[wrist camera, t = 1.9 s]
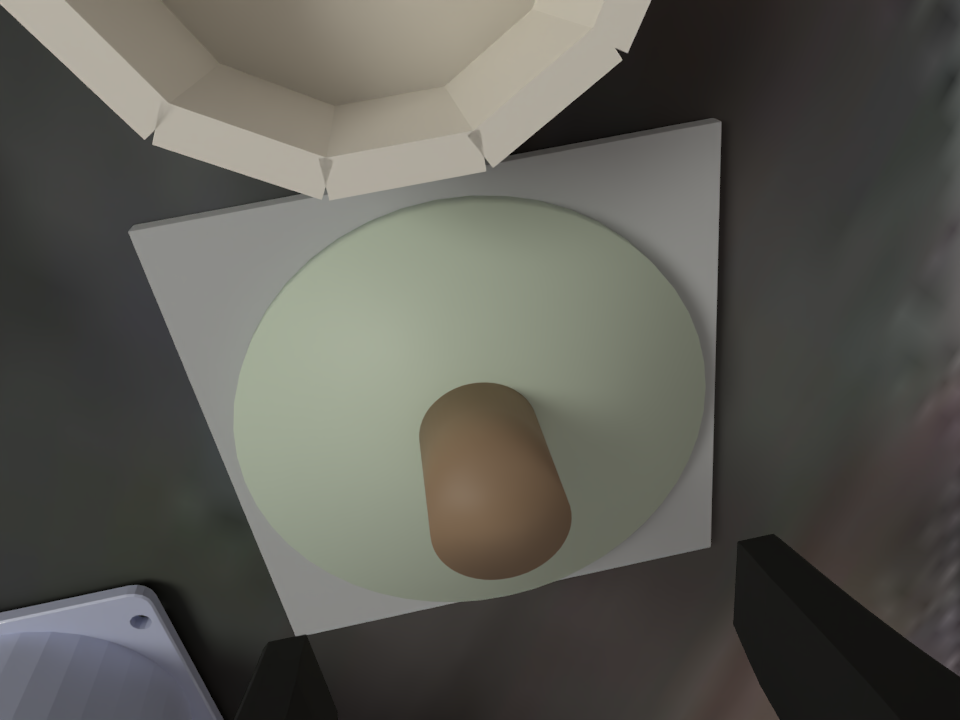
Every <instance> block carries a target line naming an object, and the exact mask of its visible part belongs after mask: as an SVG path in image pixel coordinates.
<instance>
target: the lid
mask: <svg viewBox="0 0 960 720" xmlns="http://www.w3.org/2000/svg"><path fill="white" fill-rule="evenodd" d="M705 390H706V384H705V368H704V359H703V355H702V350H701V346H700V341H699V337H698V334H697V332H696V329H695V327H694V324H693V322H692V319H691V317H690V314H689V312H688V310H687V308H686V307H685V305H684V303H683V302H682V300H681V298H680V297H679V295H678V293H677V292H676V290H675V289H674V287H673V286H672V285H671V284H670V283H669V282H668V280H667V279H666V278H665V277H664V276H663V274H662V273H661V272H660V271H659V270H658V268H657V267H656V266H655V265H654V264H653V263H652V262H651V261H650V260H649V259H648V258H647V257H646V256H645V255H644V254H643V253H642V252H640V251H639V250H638V249H637V248H636V247H635V246H633V245H632V244H631V243H630V242H629V241H628V240H627V239H625V238H624V237H622V236H621V235H619V234H618V233H616V232H614V231H613V230H611V229H610V228H608V227H606V226H605V225H603V224H602V223H600V222H598V221H596V220H594V219H591V218H589V217H587V216H585V215H582V214H580V213H578V212H575V211H573V210H571V209H568V208H564V207H561V206H557V205H553V204H550V203H546V202H543V201H539V200H532V199H525V198H518V197H511V196H474V195H470V196H462V197H454V198H446V199H438V200H433V201H429V202H425V203H421V204H417V205H413V206H409V207H405V208H402V209H399V210H396V211H394V212H391V213H389V214H386V215H384V216H381V217H379V218H376V219H374V220H371V221H369V222H367V223H365V224H363V225H361V226H360V227H358V228H356V229H354V230H352V231H351V232H349V233H347V234H345V235H343V236H342V237H340V238H338V239H337V240H335V241H334V242H333V243H331V244H330V245H329V246H327V247H326V248H325V249H323V250H322V251H321V252H319V253H318V254H317V255H315V256H314V257H313V258H311V259H310V260H309V261H308V262H307V263H306V264H305V265H304V266H303V267H302V268H301V269H300V270H299V271H298V272H297V273H296V274H295V275H294V276H293V277H292V278H291V279H290V280H289V281H288V282H287V283H286V284H285V286H284V287H283V288H282V289H281V291H280V292H279V293H278V295H277V296H276V297H275V299H274V300H273V301H272V303H271V304H270V305H269V307H268V308H267V310H266V312H265V314H264V315H263V317H262V319H261V321H260V323H259V325H258V326H257V328H256V330H255V332H254V334H253V336H252V339H251V342H250V344H249V347H248V350H247V353H246V355H245V358H244V361H243V364H242V368H241V371H240V374H239V379H238V385H237V390H236V395H235V400H234V424H233V431H234V439H235V446H236V453H237V458H238V461H239V465H240V468H241V471H242V474H243V477H244V481H245V483H246V485H247V487H248V489H249V491H250V493H251V495H252V497H253V499H254V501H255V503H256V505H257V507H258V508H259V509H260V511H261V512H262V514H263V515H264V516H265V518H266V519H267V521H268V522H269V524H270V525H271V526H272V527H273V528H274V529H275V530H276V532H277V533H278V534H279V535H280V536H281V537H282V538H283V539H284V540H285V541H286V542H287V543H288V544H289V545H290V546H291V547H292V548H294V549H295V550H296V551H297V552H299V553H300V554H301V555H302V556H304V557H305V558H306V559H307V560H309V561H310V562H312V563H314V564H315V565H317V566H318V567H320V568H322V569H323V570H325V571H326V572H328V573H330V574H332V575H334V576H336V577H338V578H340V579H343V580H345V581H347V582H349V583H351V584H353V585H356V586H359V587H362V588H365V589H368V590H371V591H374V592H377V593H381V594H386V595H390V596H395V597H399V598H404V599H413V600H421V601H430V602H463V601H476V600H485V599H491V598H497V597H503V596H509V595H513V594H516V593H520V592H524V591H528V590H531V589H535V588H538V587H540V586H543V585H546V584H549V583H551V582H554V581H557V580H559V579H561V578H564V577H566V576H568V575H570V574H572V573H574V572H576V571H578V570H580V569H582V568H584V567H586V566H587V565H589V564H591V563H593V562H594V561H596V560H598V559H599V558H601V557H603V556H604V555H606V554H607V553H608V552H610V551H611V550H613V549H614V548H615V547H617V546H618V545H619V544H621V543H622V542H623V541H625V540H626V539H627V538H628V537H629V536H630V535H632V534H633V533H634V532H635V531H636V530H637V529H638V528H639V527H640V526H641V525H643V524H644V523H645V522H646V521H647V519H648V518H649V517H650V516H651V515H652V514H653V513H654V512H655V510H656V509H657V508H658V507H659V506H660V505H661V504H662V502H663V501H664V500H665V498H666V497H667V495H668V494H669V493H670V491H671V490H672V488H673V487H674V485H675V484H676V483H677V481H678V479H679V477H680V475H681V473H682V472H683V470H684V468H685V466H686V464H687V462H688V460H689V458H690V455H691V453H692V450H693V448H694V445H695V442H696V440H697V437H698V433H699V429H700V425H701V421H702V416H703V412H704V401H705Z"/></svg>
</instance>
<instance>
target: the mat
mask: <svg viewBox="0 0 960 720" xmlns="http://www.w3.org/2000/svg"><path fill="white" fill-rule="evenodd" d="M720 161H721V121H719V120H717V119H715V118H709V119H704V120H698V121H693V122H688V123H682V124H677V125H671V126H666V127H661V128H655V129H650V130H644V131H639V132H634V133H628V134H623V135H617V136H612V137H607V138H601V139H596V140H590V141H585V142H580V143H574V144H569V145H563V146H558V147H553V148H547V149H542V150H537V151H531V152H526V153H520V154H515V155H510V156H507V157H506V158H505V159H503V160H502V161H501V162H500V163H499V164H497V165H496V166H495V167H494V168H493V167H492V166H491V165H490V164H489V162H488V161H487V160H485V165H486V171H485V172H480V173H475V174H469V175H464V176H459V177H453V178H448V179H442V180H437V181H432V182H426V183H421V184H416V185H410V186H405V187H400V188H394V189H389V190H383V191H378V192H373V193H367V194H362V195H357V196H351V197H346V198H340V199H335V200H330V201H329V197H328V193H327V189H326V190H325V191H324V194H323V198H322V200H320V199H317V198H314V197H311V196H308V195H305V194H299V195H294V196H288V197H283V198H278V199H272V200H267V201H261V202H256V203H251V204H245V205H240V206H234V207H229V208H224V209H218V210H213V211H208V212H202V213H197V214H191V215H186V216H181V217H175V218H170V219H164V220H159V221H154V222H148V223H143V224H137V225H133V227H132V228H131V229H130V230H129V231H128V233H129V235H130V237H131V240H132V242H133V245H134V247H135V250H136V252H137V254H138V257H139V259H140V262H141V264H142V266H143V269H144V271H145V274H146V276H147V278H148V281H149V283H150V286H151V288H152V291H153V293H154V295H155V298H156V300H157V303H158V305H159V307H160V310H161V312H162V315H163V317H164V320H165V322H166V324H167V327H168V329H169V332H170V334H171V336H172V339H173V341H174V344H175V346H176V348H177V351H178V353H179V356H180V358H181V361H182V363H183V365H184V368H185V370H186V373H187V375H188V377H189V380H190V382H191V385H192V387H193V390H194V392H195V394H196V397H197V399H198V402H199V404H200V406H201V409H202V411H203V414H204V416H205V418H206V421H207V423H208V426H209V428H210V431H211V433H212V435H213V438H214V440H215V443H216V445H217V447H218V450H219V452H220V455H221V457H222V460H223V462H224V464H225V467H226V469H227V472H228V474H229V476H230V479H231V481H232V484H233V486H234V488H235V491H236V493H237V496H238V498H239V501H240V503H241V505H242V508H243V510H244V513H245V515H246V517H247V520H248V522H249V525H250V527H251V530H252V532H253V534H254V537H255V539H256V542H257V544H258V546H259V549H260V551H261V554H262V556H263V558H264V561H265V563H266V566H267V568H268V571H269V573H270V575H271V578H272V580H273V583H274V585H275V587H276V590H277V592H278V595H279V597H280V600H281V602H282V604H283V607H284V609H285V612H286V614H287V616H288V619H289V621H290V624H291V626H292V628H293V631H294V633H295V636H300V635H304V634H306V635H310V634H314V633H319V632H323V631H328V630H332V629H337V628H342V627H346V626H351V625H355V624H360V623H365V622H369V621H374V620H378V619H383V618H387V617H392V616H397V615H401V614H406V613H410V612H415V611H420V610H424V609H429V608H433V607H438V606H442V605H447V604H452V603H456V602H430V601H421V600H413V599H404V598H399V597H395V596H390V595H386V594H381V593H377V592H374V591H371V590H368V589H365V588H362V587H359V586H356V585H353V584H351V583H349V582H347V581H345V580H343V579H340V578H338V577H336V576H334V575H332V574H330V573H328V572H326V571H325V570H323V569H322V568H320V567H318V566H317V565H315V564H314V563H312V562H310V561H309V560H307V559H306V558H305V557H304V556H302V555H301V554H300V553H299V552H297V551H296V550H295V549H294V548H292V547H291V546H290V545H289V544H288V543H287V542H286V541H285V540H284V539H283V538H282V537H281V536H280V535H279V534H278V533H277V532H276V530H275V529H274V528H273V527H272V526H271V525H270V524H269V522H268V521H267V519H266V518H265V516H264V515H263V514H262V512H261V511H260V509H259V508H258V507H257V505H256V503H255V501H254V499H253V497H252V495H251V493H250V491H249V489H248V487H247V485H246V483H245V481H244V477H243V474H242V471H241V468H240V465H239V461H238V458H237V453H236V446H235V439H234V431H233V424H234V400H235V395H236V390H237V385H238V379H239V374H240V371H241V368H242V364H243V361H244V358H245V355H246V353H247V350H248V347H249V344H250V342H251V339H252V336H253V334H254V332H255V330H256V328H257V326H258V325H259V323H260V321H261V319H262V317H263V315H264V314H265V312H266V310H267V308H268V307H269V305H270V304H271V303H272V301H273V300H274V299H275V297H276V296H277V295H278V293H279V292H280V291H281V289H282V288H283V287H284V286H285V284H286V283H287V282H288V281H289V280H290V279H291V278H292V277H293V276H294V275H295V274H296V273H297V272H298V271H299V270H300V269H301V268H302V267H303V266H304V265H305V264H306V263H307V262H308V261H309V260H310V259H311V258H313V257H314V256H315V255H317V254H318V253H319V252H321V251H322V250H323V249H325V248H326V247H327V246H329V245H330V244H331V243H333V242H334V241H335V240H337V239H338V238H340V237H342V236H343V235H345V234H347V233H349V232H351V231H352V230H354V229H356V228H358V227H360V226H361V225H363V224H365V223H367V222H369V221H371V220H374V219H376V218H379V217H381V216H384V215H386V214H389V213H391V212H394V211H396V210H399V209H402V208H405V207H409V206H413V205H417V204H421V203H425V202H429V201H433V200H438V199H446V198H454V197H462V196H470V195H474V196H511V197H518V198H525V199H532V200H539V201H543V202H546V203H550V204H553V205H557V206H561V207H564V208H568V209H571V210H573V211H575V212H578V213H580V214H582V215H585V216H587V217H589V218H591V219H594V220H596V221H598V222H600V223H602V224H603V225H605V226H606V227H608V228H610V229H611V230H613V231H614V232H616V233H618V234H619V235H621V236H622V237H624V238H625V239H627V240H628V241H629V242H630V243H631V244H632V245H633V246H635V247H636V248H637V249H638V250H639V251H640V252H642V253H643V254H644V255H645V256H646V257H647V258H648V259H649V260H650V261H651V262H652V263H653V264H654V265H655V266H656V267H657V268H658V270H659V271H660V272H661V273H662V274H663V276H664V277H665V278H666V279H667V280H668V282H669V283H670V284H671V285H672V286H673V287H674V289H675V290H676V292H677V293H678V295H679V297H680V298H681V300H682V302H683V303H684V305H685V307H686V308H687V310H688V312H689V314H690V317H691V319H692V322H693V324H694V327H695V329H696V332H697V334H698V337H699V341H700V346H701V350H702V355H703V359H704V368H705V384H706V390H705V401H704V412H703V416H702V421H701V425H700V429H699V433H698V437H697V440H696V442H695V445H694V448H693V450H692V453H691V455H690V458H689V460H688V462H687V464H686V466H685V468H684V470H683V472H682V473H681V475H680V477H679V479H678V481H677V483H676V484H675V485H674V487H673V488H672V490H671V491H670V493H669V494H668V495H667V497H666V498H665V500H664V501H663V502H662V504H661V505H660V506H659V507H658V508H657V509H656V510H655V512H654V513H653V514H652V515H651V516H650V517H649V518H648V519H647V521H646V522H645V523H644V524H643V525H641V526H640V527H639V528H638V529H637V530H636V531H635V532H634V533H633V534H632V535H630V536H629V537H628V538H627V539H626V540H625V541H623V542H622V543H621V544H619V545H618V546H617V547H615V548H614V549H613V550H611V551H610V552H608V553H607V554H606V555H604V556H603V557H601V558H599V559H598V560H596V561H594V562H593V563H591V564H589V565H587V566H586V567H584V568H582V569H580V570H578V571H576V572H574V573H572V574H570V575H568V576H566V577H564V578H561V579H559V580H562V579H566V578H571V577H575V576H580V575H585V574H589V573H594V572H598V571H603V570H608V569H612V568H617V567H621V566H626V565H630V564H635V563H640V562H644V561H649V560H653V559H658V558H663V557H667V556H672V555H676V554H681V553H685V552H690V551H695V550H699V549H704V548H708V547H711V515H712V476H713V437H714V397H715V358H716V318H717V279H718V240H719V200H720Z"/></svg>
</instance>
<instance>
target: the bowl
mask: <svg viewBox="0 0 960 720" xmlns="http://www.w3.org/2000/svg"><path fill="white" fill-rule="evenodd" d="M650 2H651V0H0V4H1V5H2V6H3V7H4V8H5V9H6V10H7V11H8V12H9V13H10V14H11V15H12V16H13V17H15V18H16V19H17V20H18V21H19V22H20V23H21V24H22V25H23V26H24V27H25V28H26V29H27V30H28V31H29V32H30V33H32V34H33V35H34V36H35V37H36V38H37V39H38V40H39V41H40V42H41V43H42V44H43V45H44V46H45V47H46V48H47V49H48V50H50V51H51V52H52V53H53V54H54V55H55V56H56V57H57V58H58V59H59V60H60V61H61V62H62V63H63V64H64V65H65V66H67V67H68V68H69V69H70V70H71V71H72V72H73V73H74V74H75V75H76V76H77V77H78V78H79V79H80V80H81V81H82V82H84V83H85V84H86V85H87V86H88V87H89V88H90V89H91V90H92V91H93V92H94V93H95V94H96V95H97V96H98V97H99V98H101V99H102V100H103V101H104V102H105V103H106V104H107V105H108V106H109V107H110V108H111V109H112V110H113V111H114V112H115V113H116V114H118V115H119V116H120V117H121V118H122V119H123V120H124V121H125V122H126V123H127V124H128V125H129V126H130V127H131V128H132V129H133V130H135V131H136V132H137V133H138V134H139V135H140V136H141V137H142V138H143V139H144V140H145V139H146V138H147V137H148V136H150V135H151V134H152V133H153V132H154V131H155V133H154V138H153V143H152V145H155V146H158V147H161V148H164V149H167V150H170V151H174V152H177V153H180V154H183V155H186V156H189V157H192V158H195V159H198V160H201V161H204V162H207V163H210V164H213V165H216V166H219V167H222V168H225V169H229V170H232V171H235V172H238V173H241V174H244V175H247V176H250V177H253V178H256V179H259V180H262V181H265V182H268V183H271V184H274V185H277V186H281V187H284V188H287V189H290V190H293V191H296V192H299V193H302V194H305V195H308V196H311V197H314V198H317V199H320V200H322V198H323V194H324V191H325V187H326V189H327V193H328V197H329V201H330V200H335V199H340V198H346V197H351V196H357V195H362V194H367V193H373V192H378V191H383V190H389V189H394V188H400V187H405V186H410V185H416V184H421V183H426V182H432V181H437V180H442V179H448V178H453V177H459V176H464V175H469V174H475V173H480V172H485V171H486V165H485V159H486V160H487V161H488V162H489V164H490V165H491V166H492V167H493V168H494V167H495V166H496V165H497V164H499V163H500V162H501V161H502V160H503V159H505V158H506V157H507V156H508V155H509V154H511V153H512V152H513V151H514V150H515V149H517V148H518V147H519V146H520V145H521V144H523V143H524V142H525V141H526V140H527V139H529V138H530V137H531V136H532V135H533V134H535V133H536V132H537V131H538V130H539V129H541V128H542V127H543V126H544V125H545V124H547V123H548V122H549V121H550V120H551V119H553V118H554V117H555V116H556V115H557V114H559V113H560V112H561V111H562V110H563V109H565V108H566V107H567V106H568V105H569V104H571V103H572V102H573V101H574V100H575V99H577V98H578V97H579V96H580V95H581V94H583V93H584V92H585V91H586V90H587V89H589V88H590V87H591V86H592V85H593V84H594V83H596V82H597V81H598V80H599V79H600V78H602V77H603V76H604V75H605V74H606V73H608V72H609V71H610V70H611V69H612V68H614V67H615V66H616V65H617V64H618V63H620V62H621V61H622V58H621V57H620V55H619V53H618V52H617V50H616V49H618V50H620V51H623V52H626V53H628V51H629V49H630V47H631V45H632V42H633V40H634V38H635V36H636V33H637V31H638V29H639V27H640V25H641V22H642V20H643V18H644V16H645V13H646V11H647V9H648V7H649V4H650ZM484 157H485V158H484Z"/></svg>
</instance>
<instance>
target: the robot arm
mask: <svg viewBox="0 0 960 720" xmlns="http://www.w3.org/2000/svg"><path fill="white" fill-rule="evenodd" d="M138 615H144V616H147V617H141V616H138ZM733 625H734V627H735V629H736V632H737V634H738V636H739V639H740V641H741V643H742V646H743V648H744V650H745V653H746V655H747V657H748V659H749V662H750V664H751V666H752V668H753V670H754V673H755V675H756V677H757V679H758V681H759V684H760V686H761V687H762V689H763V691H764V693H765V694H766V696H767V698H768V700H769V701H770V703H771V705H772V707H773V708H774V710H775V712H776V714H777V715H778V717H779V719H780V720H960V677H959V676H958V675H956V674H955V673H953V672H952V671H951V670H949V669H948V668H946V667H945V666H943V665H942V664H941V663H939V662H938V661H936V660H935V659H933V658H932V657H930V656H929V655H928V654H926V653H925V652H923V651H922V650H921V649H919V648H918V647H917V646H915V645H914V644H912V643H911V642H910V641H908V640H907V639H906V638H904V637H903V636H902V635H900V634H899V633H898V632H896V631H895V630H894V629H892V628H891V627H890V626H888V625H887V624H886V623H884V622H883V621H882V620H880V619H879V618H878V617H876V616H875V615H874V614H872V613H871V612H870V611H869V610H867V609H866V608H865V607H863V606H862V605H861V604H860V603H858V602H857V601H856V600H854V599H853V598H852V597H851V596H849V595H848V594H847V593H846V592H844V591H843V590H842V589H841V588H839V587H838V586H837V585H836V584H834V583H833V582H832V581H831V580H829V579H828V578H827V577H826V576H825V575H823V574H822V573H821V572H820V571H818V570H817V569H816V568H815V567H814V566H812V565H811V564H810V563H809V562H807V561H806V560H805V559H804V558H803V557H801V556H800V555H799V554H798V553H797V552H795V551H794V550H793V549H792V548H791V547H789V546H788V545H787V544H786V543H785V542H783V541H782V540H781V539H780V538H778V537H777V536H775V535H774V534H771V535H766V536H761V537H757V538H752V539H747V540H743V541H738V546H737V565H736V584H735V602H734V621H733ZM0 720H224V719H223V717H222V716H221V714H220V712H219V710H218V708H217V706H216V704H215V703H214V701H213V699H212V697H211V695H210V693H209V692H208V690H207V688H206V686H205V684H204V682H203V680H202V679H201V677H200V675H199V673H198V671H197V669H196V667H195V666H194V664H193V662H192V660H191V658H190V656H189V654H188V653H187V651H186V649H185V647H184V645H183V643H182V641H181V640H180V638H179V636H178V634H177V632H176V630H175V628H174V627H173V625H172V623H171V621H170V619H169V617H168V615H167V614H166V612H165V610H164V608H163V606H162V604H161V602H160V601H159V599H158V597H157V595H156V594H155V593H154V591H153V590H151V589H150V588H148V587H146V586H142V585H129V586H124V587H119V588H115V589H110V590H105V591H101V592H96V593H91V594H86V595H82V596H77V597H72V598H67V599H63V600H58V601H53V602H49V603H44V604H39V605H34V606H30V607H25V608H20V609H16V610H11V611H6V612H1V613H0ZM234 720H338V717H337V710H336V707H335V705H334V702H333V700H332V697H331V695H330V692H329V690H328V687H327V685H326V682H325V680H324V677H323V675H322V672H321V670H320V667H319V665H318V662H317V660H316V658H315V655H314V653H313V650H312V648H311V645H310V643H309V640H308V638H307V635H306V634H304V635H300V636H295V637H290V638H286V639H281V640H276V641H272V642H268V644H267V645H266V646H265V647H264V649H263V651H262V654H261V656H260V659H259V661H258V664H257V666H256V669H255V671H254V673H253V676H252V678H251V681H250V683H249V685H248V688H247V690H246V693H245V695H244V697H243V700H242V702H241V704H240V706H239V709H238V711H237V713H236V715H235V718H234Z"/></svg>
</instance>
